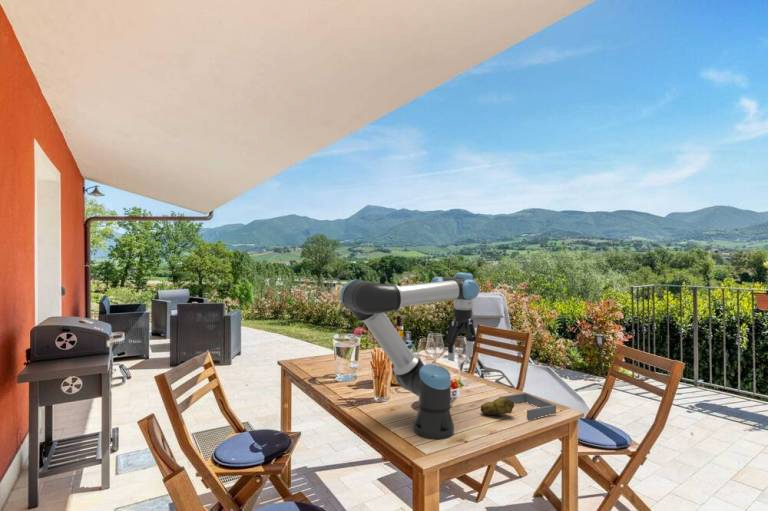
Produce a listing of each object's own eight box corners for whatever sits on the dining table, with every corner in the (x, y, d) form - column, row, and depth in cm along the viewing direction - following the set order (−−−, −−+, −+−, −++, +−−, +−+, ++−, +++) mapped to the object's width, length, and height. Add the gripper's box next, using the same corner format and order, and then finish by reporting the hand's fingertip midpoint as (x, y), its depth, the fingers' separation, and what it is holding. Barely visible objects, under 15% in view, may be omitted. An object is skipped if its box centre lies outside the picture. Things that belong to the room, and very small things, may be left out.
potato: (486, 409, 184) (486, 390, 184) (515, 416, 177) (516, 397, 177) (478, 415, 178) (479, 395, 178) (509, 422, 170) (509, 402, 170)
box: (528, 420, 173) (528, 410, 173) (498, 405, 189) (499, 396, 189) (555, 414, 180) (556, 405, 180) (525, 401, 196) (525, 392, 196)
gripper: (453, 311, 171) (450, 364, 171) (485, 308, 189) (483, 356, 189) (438, 309, 177) (435, 360, 177) (471, 306, 195) (469, 353, 194)
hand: (460, 358), depth 183 cm, fingers open, 13 cm apart
